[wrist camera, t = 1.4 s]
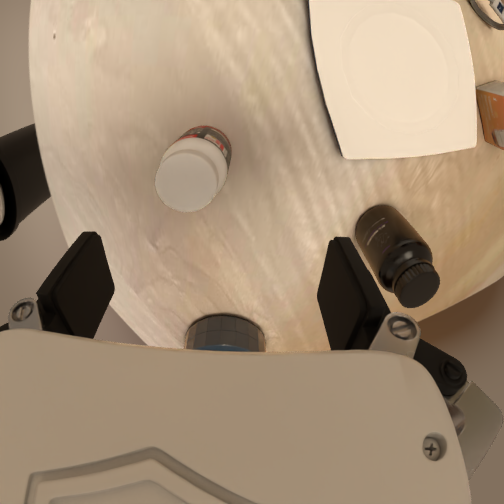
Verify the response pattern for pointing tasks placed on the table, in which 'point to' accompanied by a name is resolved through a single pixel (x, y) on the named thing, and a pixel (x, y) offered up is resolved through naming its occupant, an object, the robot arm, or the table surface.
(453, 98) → the plate
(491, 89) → the small box
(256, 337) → the blue bowl
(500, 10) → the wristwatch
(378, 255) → the supplement bottle
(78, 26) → the table surface
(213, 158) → the pill bottle
